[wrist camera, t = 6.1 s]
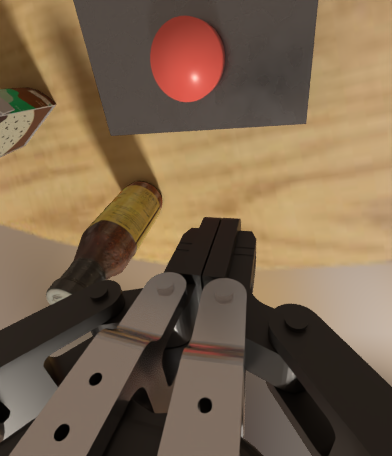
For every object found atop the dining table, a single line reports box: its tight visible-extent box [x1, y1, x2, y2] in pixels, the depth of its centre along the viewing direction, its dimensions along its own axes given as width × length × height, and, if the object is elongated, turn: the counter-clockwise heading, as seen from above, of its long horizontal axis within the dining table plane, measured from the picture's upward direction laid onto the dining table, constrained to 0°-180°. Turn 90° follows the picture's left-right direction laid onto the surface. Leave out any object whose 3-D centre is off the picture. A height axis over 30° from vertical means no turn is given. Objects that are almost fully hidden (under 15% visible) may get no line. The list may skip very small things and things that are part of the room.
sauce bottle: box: [46, 181, 162, 305], centre depth 33 cm, size 7×6×20 cm
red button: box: [150, 16, 225, 102], centre depth 25 cm, size 6×6×7 cm
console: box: [73, 0, 318, 136], centre depth 27 cm, size 20×12×6 cm, turn 97°
